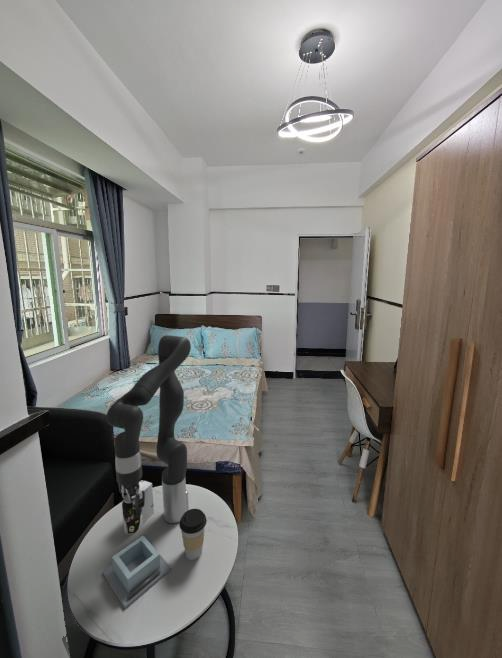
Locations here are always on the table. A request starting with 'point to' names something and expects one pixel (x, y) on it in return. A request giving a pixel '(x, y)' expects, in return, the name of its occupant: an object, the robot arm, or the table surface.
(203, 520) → the coffee cup
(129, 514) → the beverage can
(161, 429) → the robot arm
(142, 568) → the hollow square can holder
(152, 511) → the skincare box
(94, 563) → the table surface
